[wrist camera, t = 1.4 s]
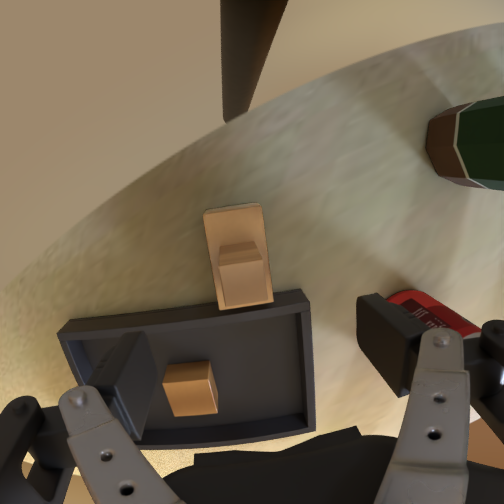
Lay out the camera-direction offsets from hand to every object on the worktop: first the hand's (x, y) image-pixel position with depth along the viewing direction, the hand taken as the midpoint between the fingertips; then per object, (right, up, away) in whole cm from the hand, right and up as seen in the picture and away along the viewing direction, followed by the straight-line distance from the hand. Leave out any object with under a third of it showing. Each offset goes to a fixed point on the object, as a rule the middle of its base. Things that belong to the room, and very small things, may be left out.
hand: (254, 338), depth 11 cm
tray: (-6, -9, +16) cm, 19 cm away
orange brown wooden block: (-6, -9, +16) cm, 19 cm away
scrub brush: (-1, +3, +14) cm, 15 cm away
